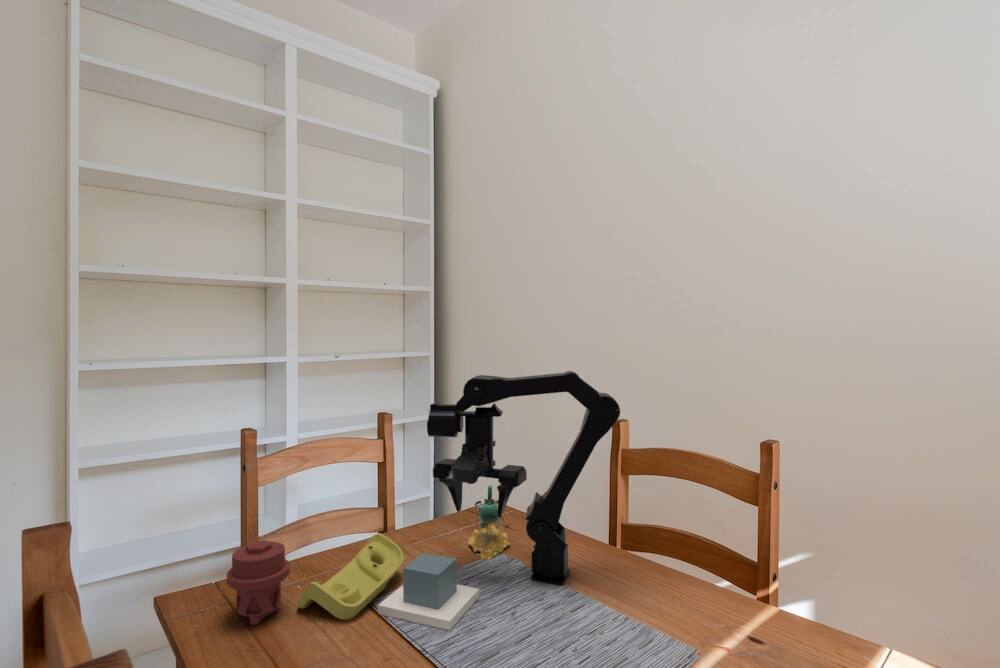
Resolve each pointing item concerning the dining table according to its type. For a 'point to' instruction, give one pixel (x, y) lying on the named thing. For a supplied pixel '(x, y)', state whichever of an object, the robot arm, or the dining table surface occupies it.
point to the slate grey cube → (430, 580)
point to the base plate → (430, 616)
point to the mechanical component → (258, 578)
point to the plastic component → (357, 579)
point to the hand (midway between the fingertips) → (479, 514)
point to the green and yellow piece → (488, 530)
